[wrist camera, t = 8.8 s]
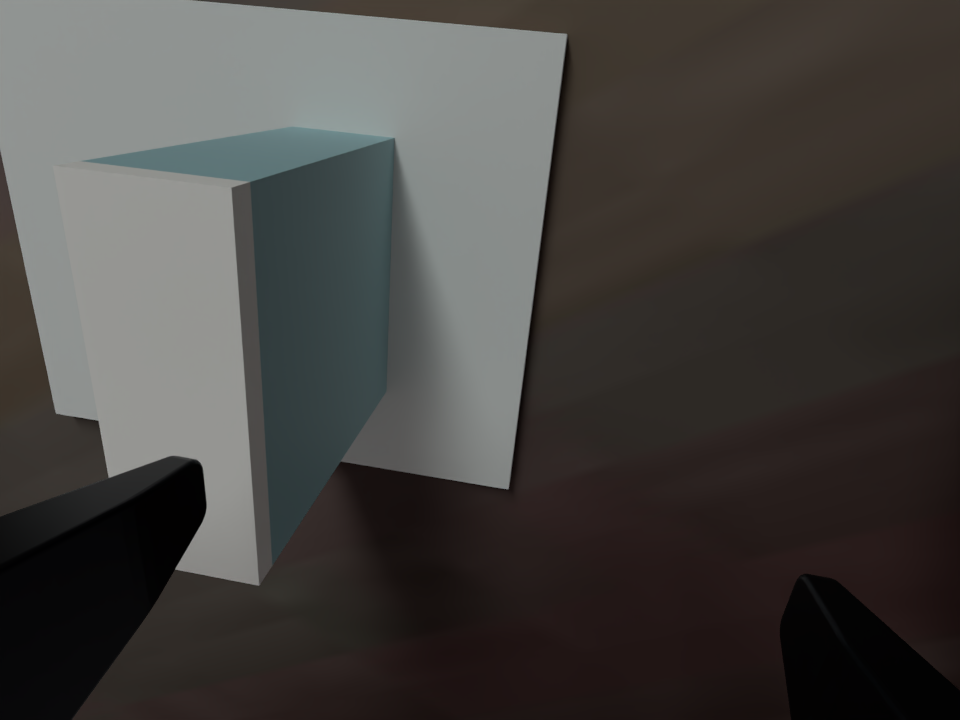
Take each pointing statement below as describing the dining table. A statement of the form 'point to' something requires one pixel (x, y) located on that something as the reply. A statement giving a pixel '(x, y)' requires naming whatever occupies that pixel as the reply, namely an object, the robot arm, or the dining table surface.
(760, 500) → the dining table surface
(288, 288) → the slab
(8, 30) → the mat
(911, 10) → the dining table surface
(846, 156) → the dining table surface
